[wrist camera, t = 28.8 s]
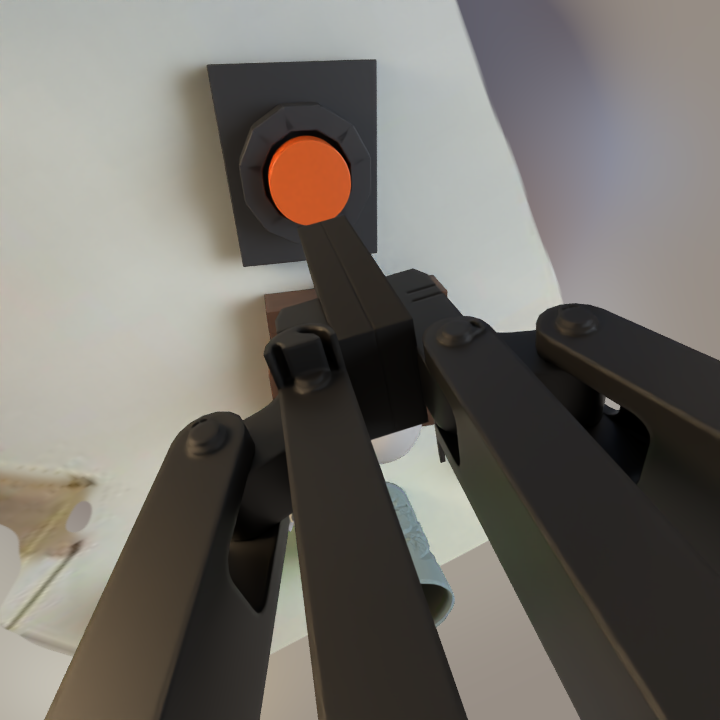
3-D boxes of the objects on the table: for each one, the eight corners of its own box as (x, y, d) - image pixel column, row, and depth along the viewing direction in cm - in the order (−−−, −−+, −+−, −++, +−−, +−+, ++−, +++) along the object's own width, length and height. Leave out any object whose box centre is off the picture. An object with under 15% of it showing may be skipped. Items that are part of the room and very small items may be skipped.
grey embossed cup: (348, 547, 52) (373, 659, 42) (305, 503, 46) (322, 622, 36) (426, 509, 51) (469, 614, 41) (392, 459, 45) (433, 568, 35)
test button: (262, 137, 24) (263, 142, 22) (343, 133, 24) (349, 137, 23) (273, 220, 26) (275, 229, 25) (346, 214, 27) (352, 222, 25)
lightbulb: (317, 326, 35) (343, 418, 26) (392, 322, 36) (441, 408, 27) (317, 388, 38) (340, 488, 29) (386, 382, 39) (428, 476, 31)
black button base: (208, 64, 24) (203, 65, 21) (368, 59, 26) (386, 59, 23) (243, 256, 31) (243, 279, 27) (370, 243, 32) (384, 264, 29)
